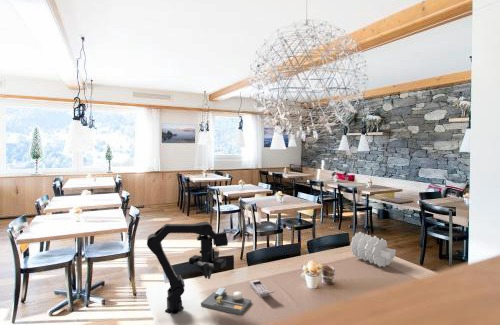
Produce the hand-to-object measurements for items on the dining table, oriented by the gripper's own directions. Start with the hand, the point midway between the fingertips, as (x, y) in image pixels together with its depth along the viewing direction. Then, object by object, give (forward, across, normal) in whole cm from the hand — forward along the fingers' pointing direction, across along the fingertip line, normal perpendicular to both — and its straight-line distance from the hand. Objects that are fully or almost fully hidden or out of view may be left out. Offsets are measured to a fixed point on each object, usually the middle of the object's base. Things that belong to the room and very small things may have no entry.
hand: (207, 278), depth 153 cm
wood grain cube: (+11, -7, 0) cm, 13 cm away
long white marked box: (+14, -20, -21) cm, 32 cm away
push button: (+10, -14, -6) cm, 18 cm away
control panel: (+13, -8, -3) cm, 16 cm away
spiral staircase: (+13, -71, -87) cm, 113 cm away
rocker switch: (+9, -4, -6) cm, 11 cm away
